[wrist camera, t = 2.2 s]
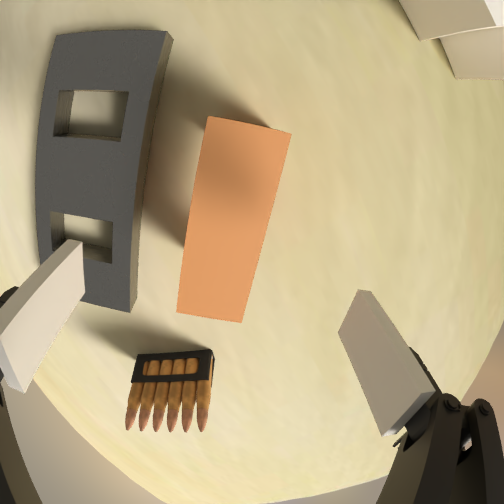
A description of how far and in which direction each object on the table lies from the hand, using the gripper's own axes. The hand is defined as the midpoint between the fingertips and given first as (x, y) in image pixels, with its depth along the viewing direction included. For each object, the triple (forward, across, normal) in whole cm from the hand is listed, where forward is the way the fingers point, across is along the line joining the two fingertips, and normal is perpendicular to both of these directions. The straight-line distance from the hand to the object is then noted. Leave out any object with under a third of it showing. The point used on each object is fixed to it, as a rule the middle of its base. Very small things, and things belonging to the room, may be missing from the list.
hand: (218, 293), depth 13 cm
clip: (+17, 0, 0) cm, 17 cm away
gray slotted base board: (+17, -14, 0) cm, 22 cm away
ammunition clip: (+17, -3, -23) cm, 28 cm away
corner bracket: (+16, +20, +26) cm, 37 cm away
